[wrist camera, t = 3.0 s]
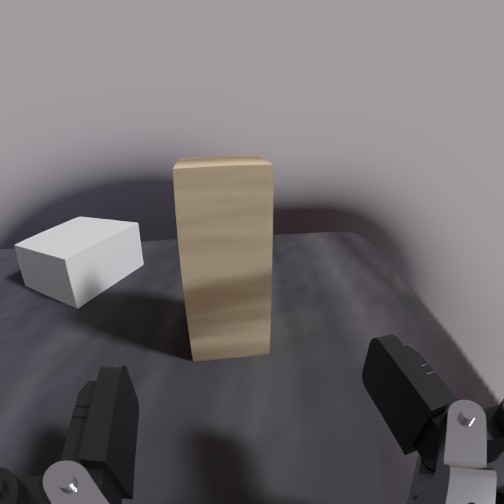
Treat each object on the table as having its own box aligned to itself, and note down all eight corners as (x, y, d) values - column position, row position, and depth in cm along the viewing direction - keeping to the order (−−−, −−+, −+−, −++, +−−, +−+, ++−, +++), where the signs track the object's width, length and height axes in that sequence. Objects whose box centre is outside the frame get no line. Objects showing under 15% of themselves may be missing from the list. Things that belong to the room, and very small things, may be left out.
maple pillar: (269, 353, 20) (273, 164, 16) (193, 361, 20) (173, 168, 15) (256, 313, 25) (256, 155, 20) (192, 318, 24) (178, 158, 20)
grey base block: (25, 287, 28) (14, 244, 26) (86, 254, 37) (79, 216, 35) (78, 311, 25) (64, 259, 23) (144, 267, 34) (138, 223, 32)
